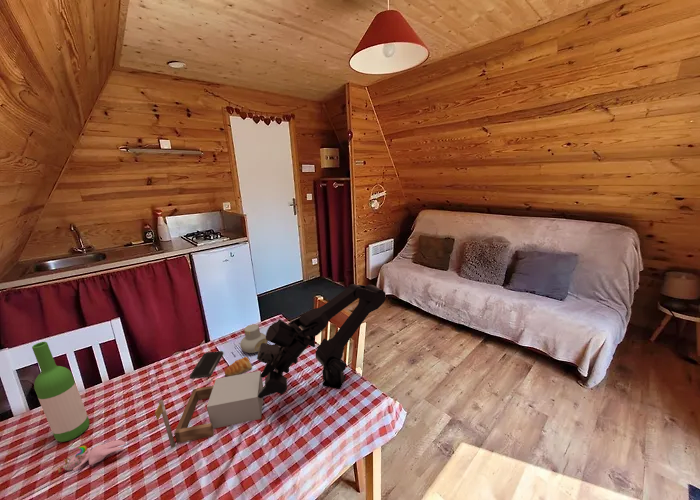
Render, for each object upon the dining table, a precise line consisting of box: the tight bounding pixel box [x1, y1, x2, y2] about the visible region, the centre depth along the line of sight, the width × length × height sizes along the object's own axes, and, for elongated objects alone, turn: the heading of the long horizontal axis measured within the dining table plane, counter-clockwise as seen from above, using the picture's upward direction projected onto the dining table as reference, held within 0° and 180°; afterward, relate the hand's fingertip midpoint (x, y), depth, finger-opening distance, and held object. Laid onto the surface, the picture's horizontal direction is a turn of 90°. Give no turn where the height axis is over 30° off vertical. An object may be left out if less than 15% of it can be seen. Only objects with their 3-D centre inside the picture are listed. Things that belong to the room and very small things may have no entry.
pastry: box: [224, 356, 253, 377], centre depth 111 cm, size 9×7×4 cm
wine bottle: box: [31, 341, 90, 443], centre depth 84 cm, size 8×8×30 cm
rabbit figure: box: [56, 439, 126, 474], centre depth 78 cm, size 6×6×15 cm
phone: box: [189, 350, 224, 380], centre depth 116 cm, size 8×1×15 cm
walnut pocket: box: [154, 385, 215, 449], centre depth 87 cm, size 11×21×15 cm, turn 11°
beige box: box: [206, 370, 264, 430], centre depth 92 cm, size 14×12×8 cm
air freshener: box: [239, 323, 268, 354], centre depth 123 cm, size 11×8×10 cm
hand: (260, 386), depth 93 cm, fingers open, 9 cm apart
